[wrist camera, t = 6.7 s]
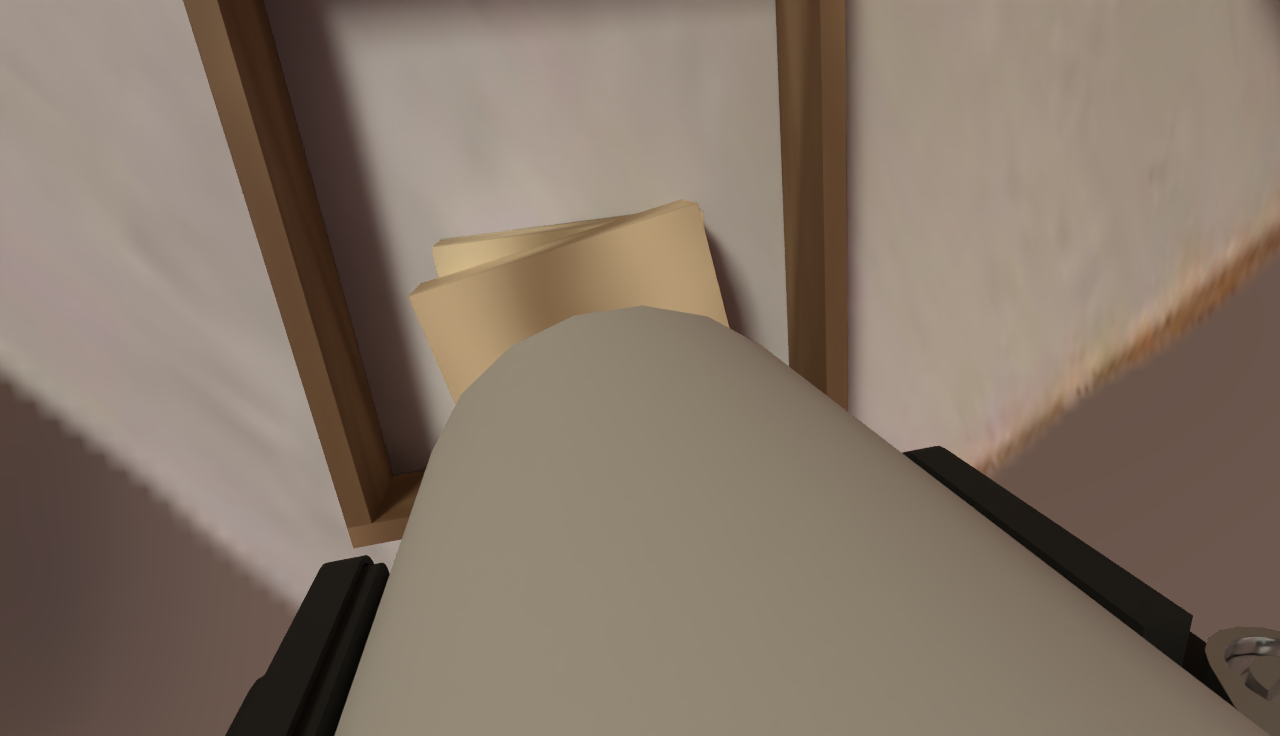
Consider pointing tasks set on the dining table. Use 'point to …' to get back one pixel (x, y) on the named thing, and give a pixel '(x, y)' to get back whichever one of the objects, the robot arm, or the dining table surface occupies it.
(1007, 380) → the dining table surface
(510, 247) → the offcut stack
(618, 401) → the can
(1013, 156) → the dining table surface
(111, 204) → the dining table surface
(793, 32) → the wooden frame
